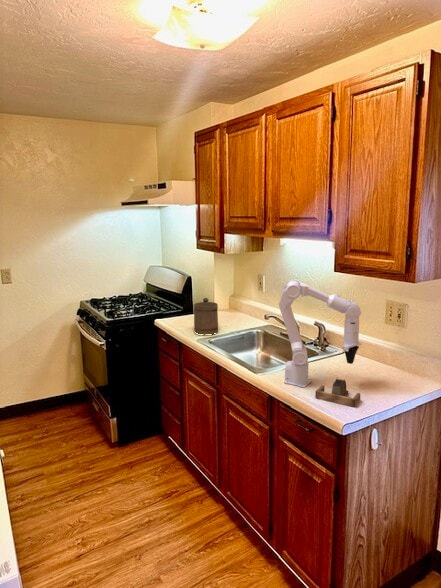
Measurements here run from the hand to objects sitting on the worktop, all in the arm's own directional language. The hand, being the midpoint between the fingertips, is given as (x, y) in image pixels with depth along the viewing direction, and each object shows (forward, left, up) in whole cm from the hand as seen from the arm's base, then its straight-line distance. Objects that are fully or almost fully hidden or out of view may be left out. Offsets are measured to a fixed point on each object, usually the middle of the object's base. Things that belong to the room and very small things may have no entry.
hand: (350, 363), depth 170 cm
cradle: (0, -16, -10) cm, 19 cm away
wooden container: (-99, +35, -10) cm, 105 cm away
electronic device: (0, -13, -10) cm, 16 cm away
